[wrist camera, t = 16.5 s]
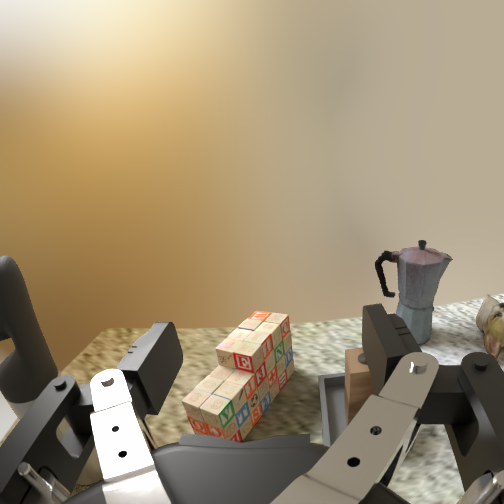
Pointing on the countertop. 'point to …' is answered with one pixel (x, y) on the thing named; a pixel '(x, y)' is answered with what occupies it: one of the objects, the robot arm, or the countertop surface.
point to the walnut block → (356, 382)
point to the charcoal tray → (333, 407)
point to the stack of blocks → (243, 378)
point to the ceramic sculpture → (492, 325)
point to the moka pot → (415, 285)
